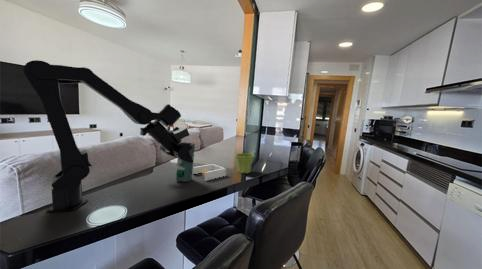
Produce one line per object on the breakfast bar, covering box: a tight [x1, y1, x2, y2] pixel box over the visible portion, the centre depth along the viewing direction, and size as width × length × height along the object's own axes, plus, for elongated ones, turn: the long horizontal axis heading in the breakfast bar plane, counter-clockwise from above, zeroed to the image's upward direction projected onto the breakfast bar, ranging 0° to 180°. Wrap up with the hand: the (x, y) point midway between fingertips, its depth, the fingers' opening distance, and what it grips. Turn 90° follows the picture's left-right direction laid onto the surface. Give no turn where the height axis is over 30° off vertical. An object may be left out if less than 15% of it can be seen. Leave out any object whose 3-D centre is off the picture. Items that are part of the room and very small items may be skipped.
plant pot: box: [234, 152, 255, 174], centre depth 92 cm, size 9×9×9 cm
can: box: [175, 142, 196, 183], centre depth 77 cm, size 6×6×15 cm
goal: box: [192, 163, 227, 182], centre depth 85 cm, size 11×11×4 cm
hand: (188, 160), depth 77 cm, fingers closed on can, 6 cm apart
